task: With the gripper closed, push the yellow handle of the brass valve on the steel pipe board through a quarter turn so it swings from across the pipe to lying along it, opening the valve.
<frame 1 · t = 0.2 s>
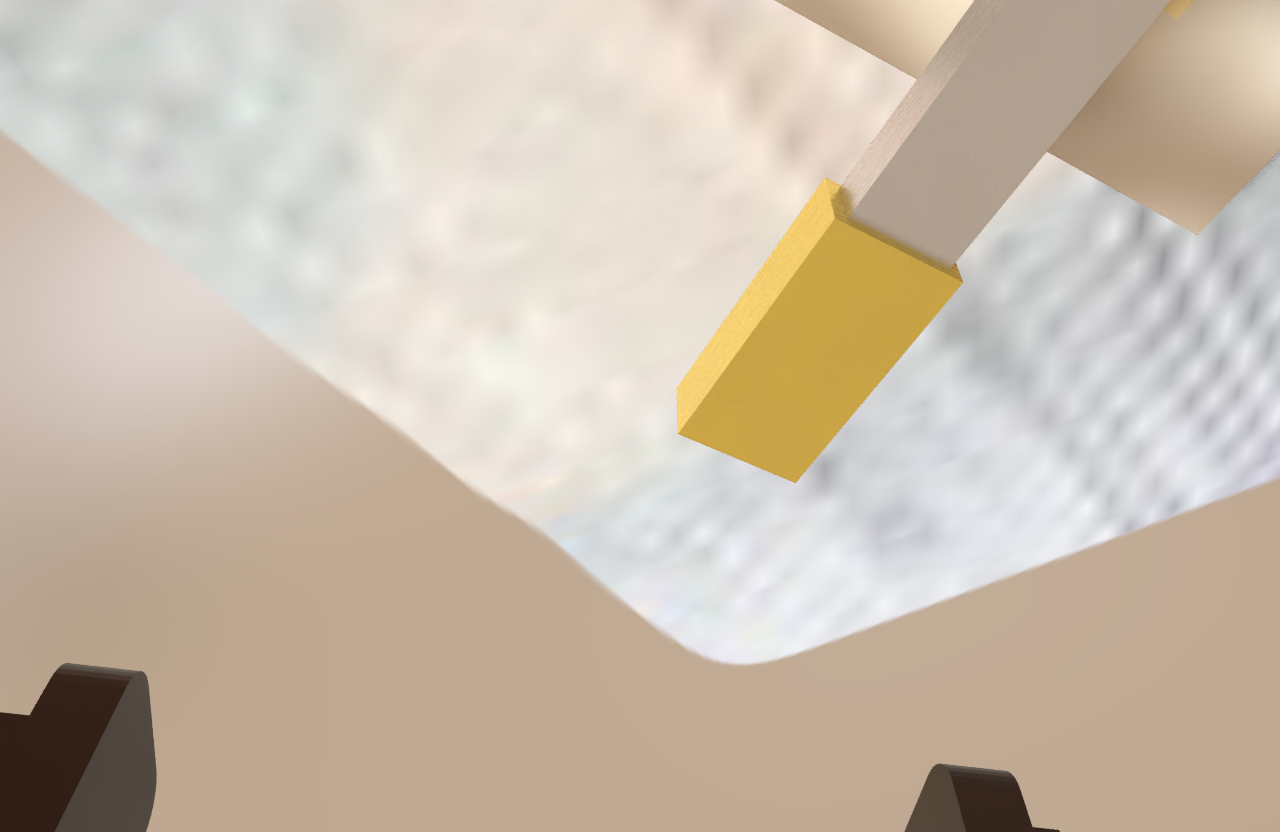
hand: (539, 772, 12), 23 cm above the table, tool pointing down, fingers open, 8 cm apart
valve lever: (940, 145, 23), point 9 cm above the table, hinge at 0.0°
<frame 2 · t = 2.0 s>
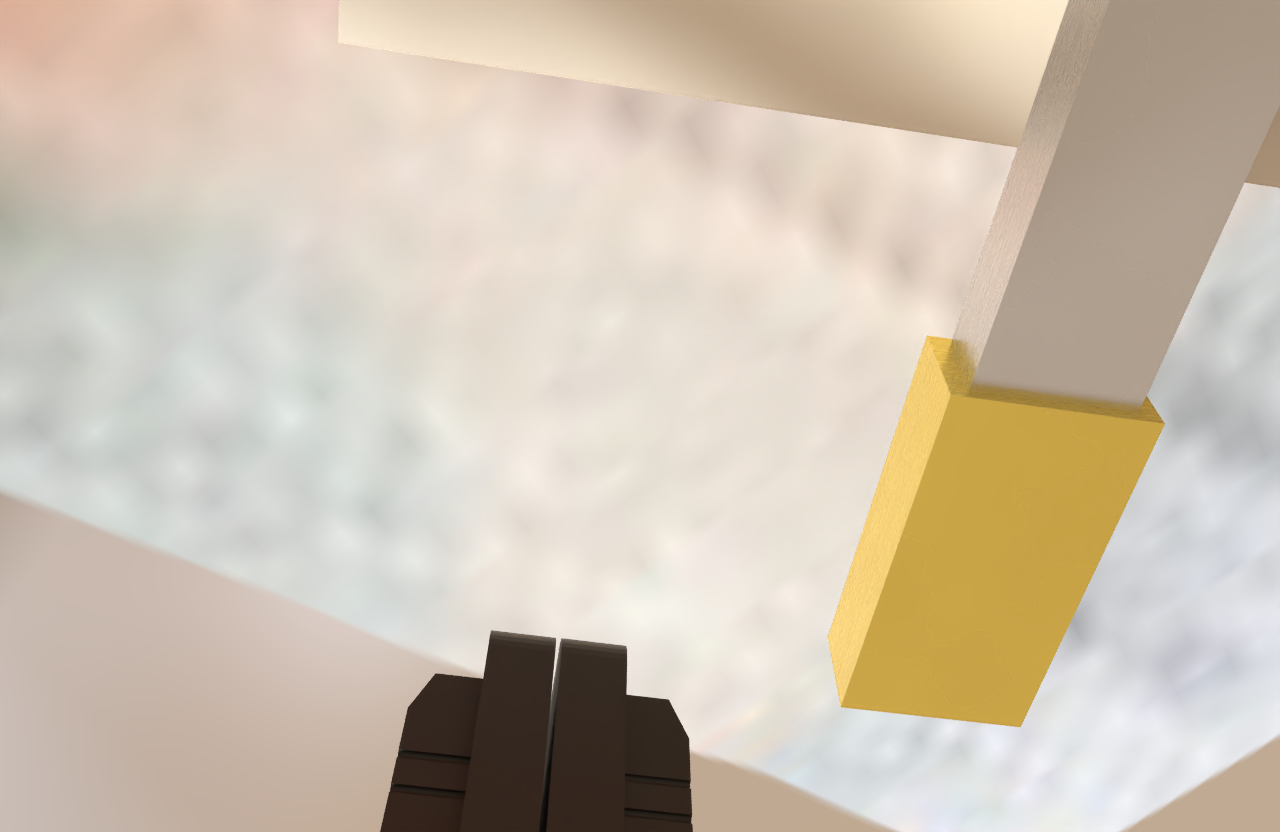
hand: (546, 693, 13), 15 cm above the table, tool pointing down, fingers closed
valve lever: (1071, 250, 16), point 9 cm above the table, hinge at 0.0°
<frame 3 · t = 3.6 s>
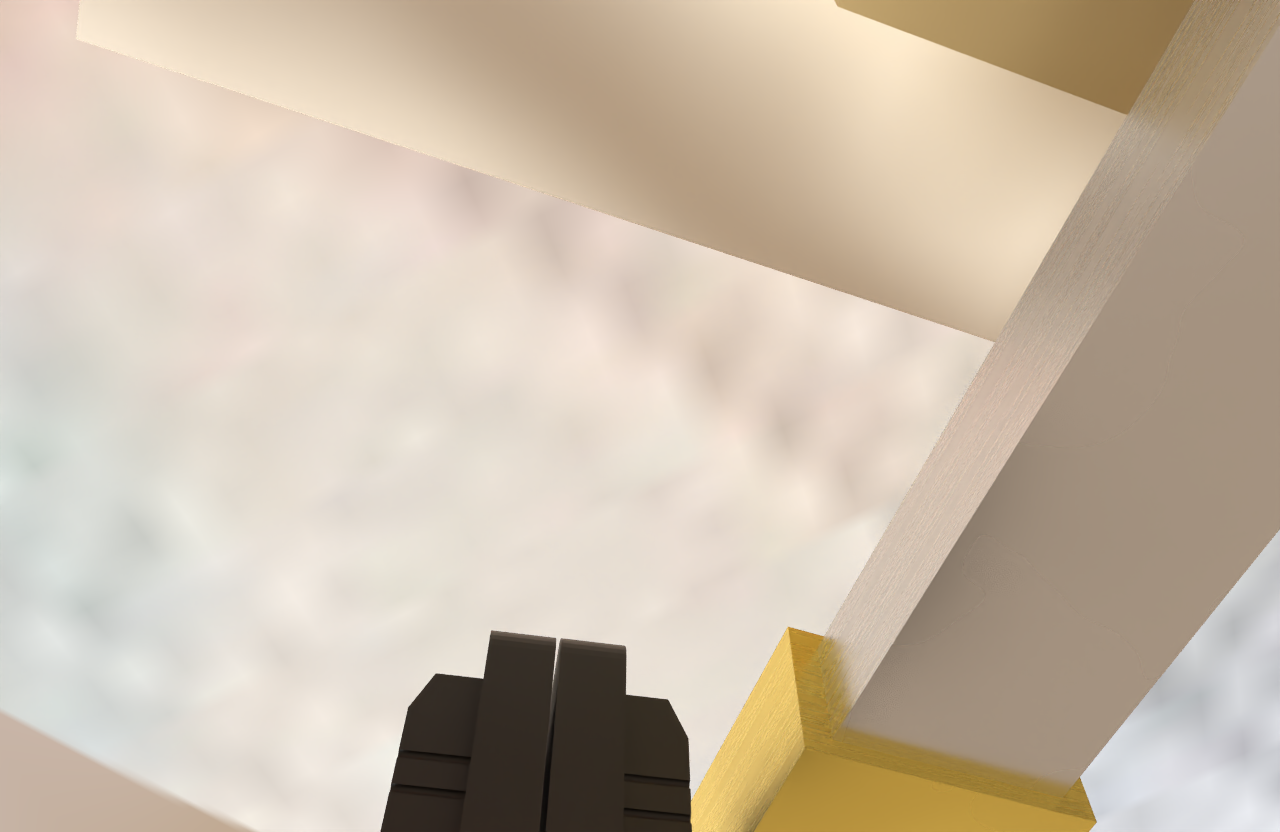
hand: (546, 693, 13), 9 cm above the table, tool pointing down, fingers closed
valve lever: (1005, 555, 11), point 9 cm above the table, hinge at 0.3°, touching gripper
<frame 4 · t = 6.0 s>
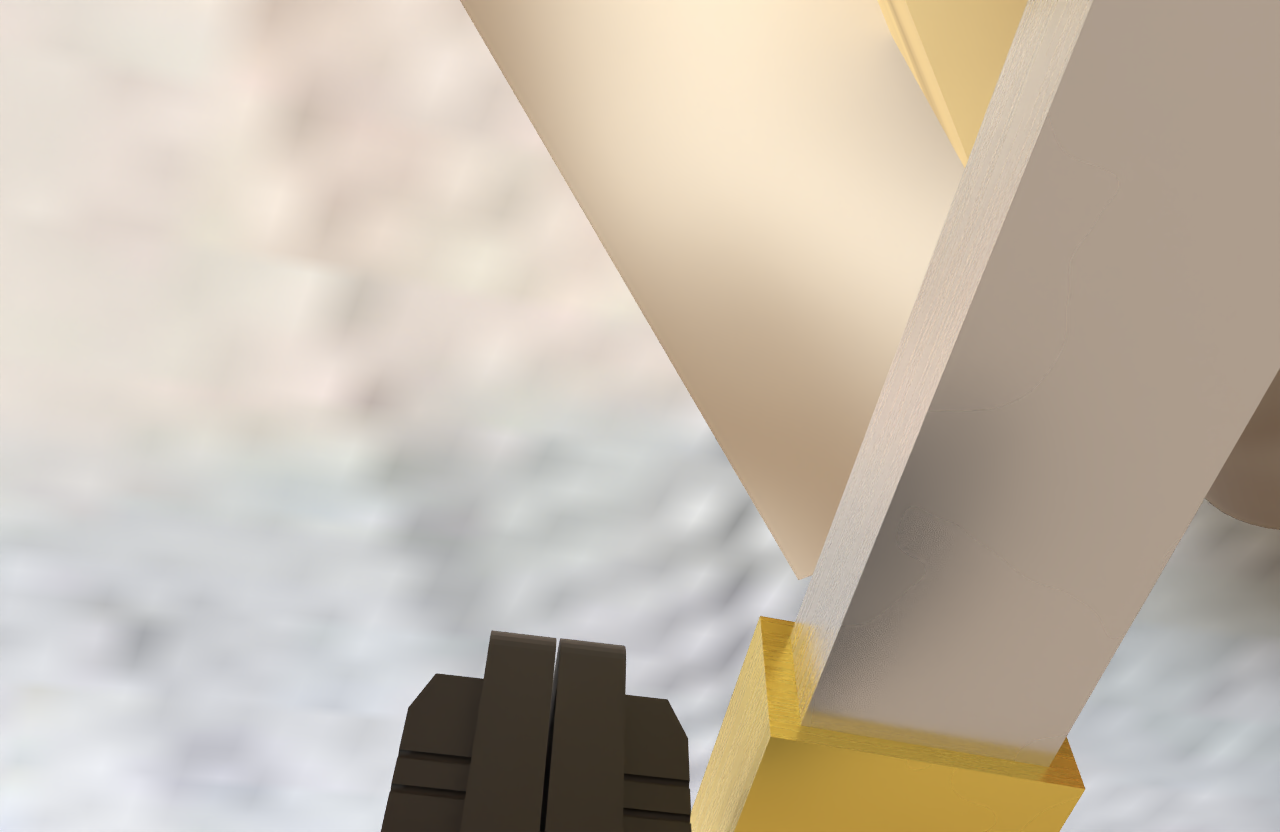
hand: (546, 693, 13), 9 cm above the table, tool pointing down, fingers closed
valve lever: (963, 524, 11), point 9 cm above the table, hinge at 50.6°, touching gripper
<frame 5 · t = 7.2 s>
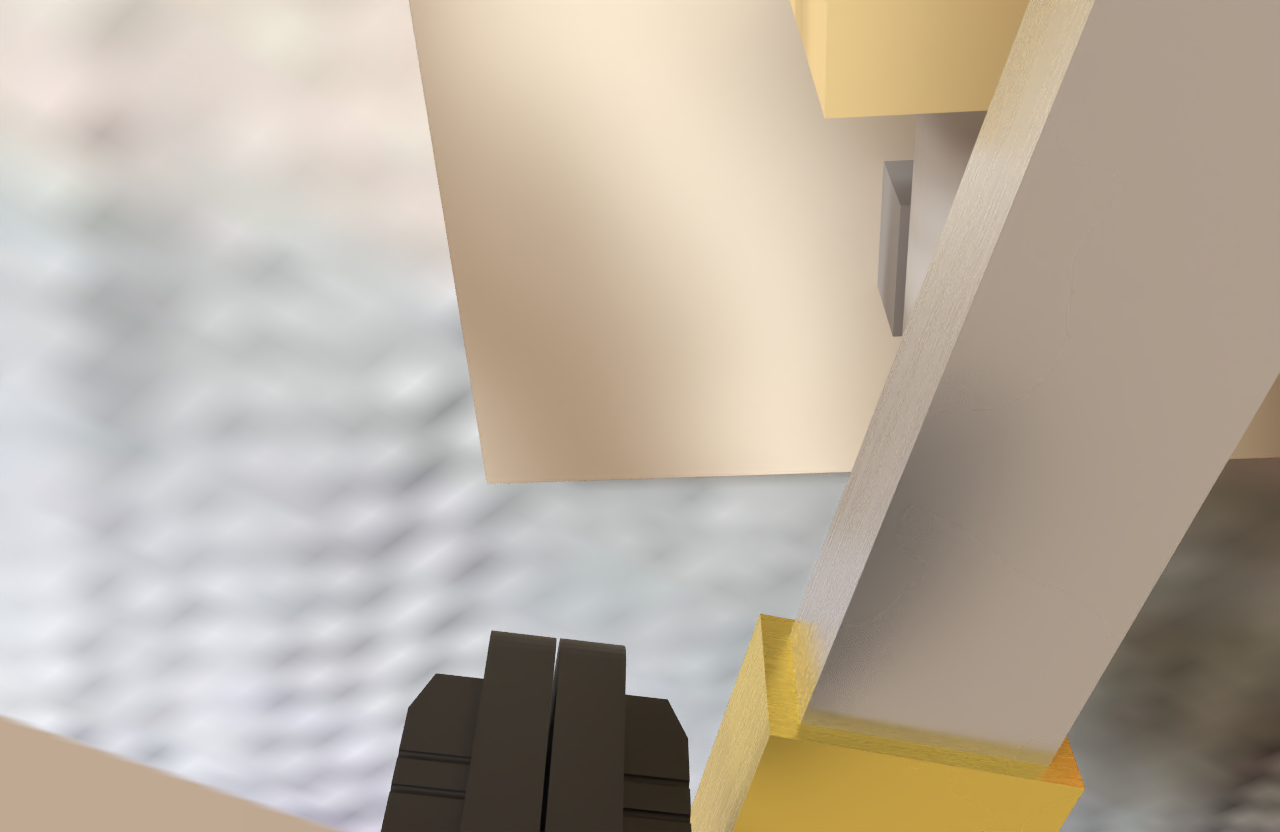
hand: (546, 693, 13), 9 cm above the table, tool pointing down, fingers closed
valve lever: (964, 523, 11), point 9 cm above the table, hinge at 74.7°, touching gripper
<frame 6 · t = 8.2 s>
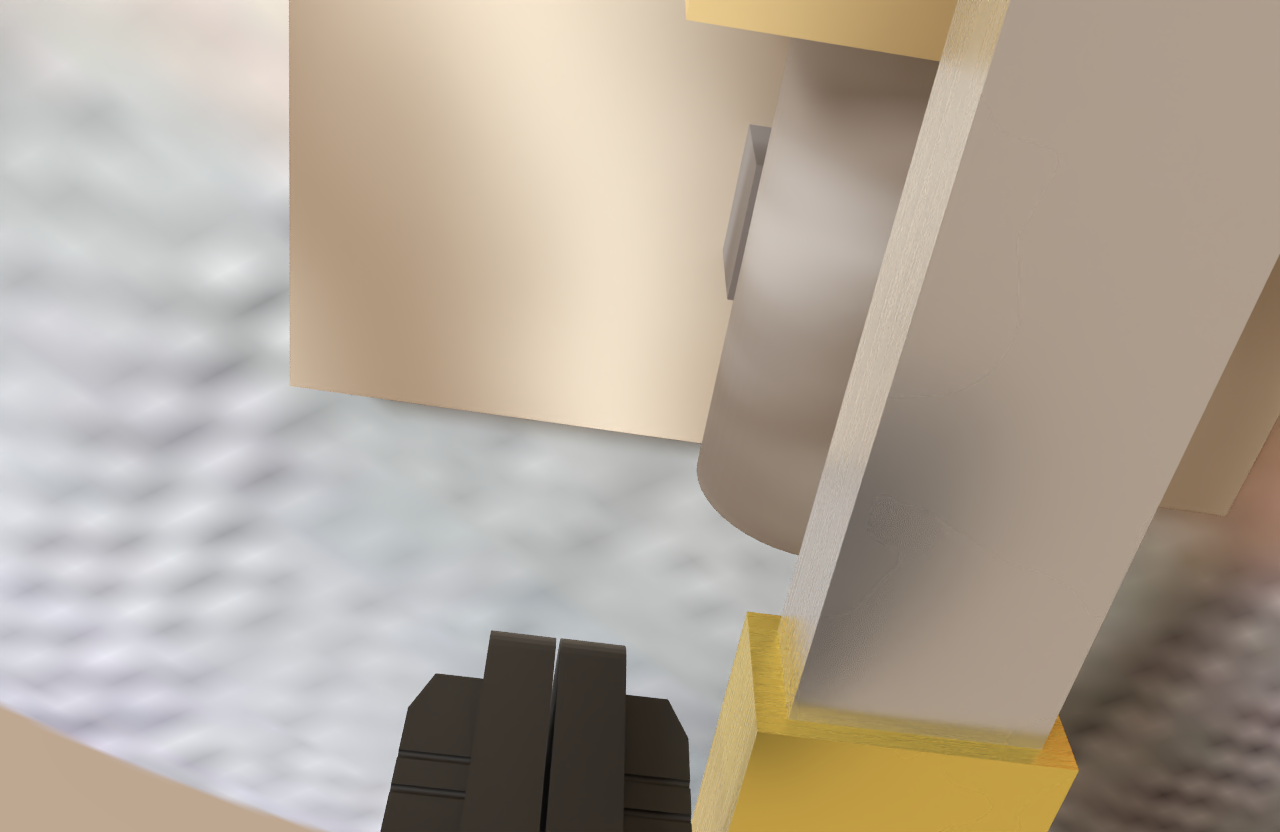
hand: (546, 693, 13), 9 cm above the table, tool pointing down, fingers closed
valve lever: (942, 510, 11), point 9 cm above the table, hinge at 90.3°, touching gripper
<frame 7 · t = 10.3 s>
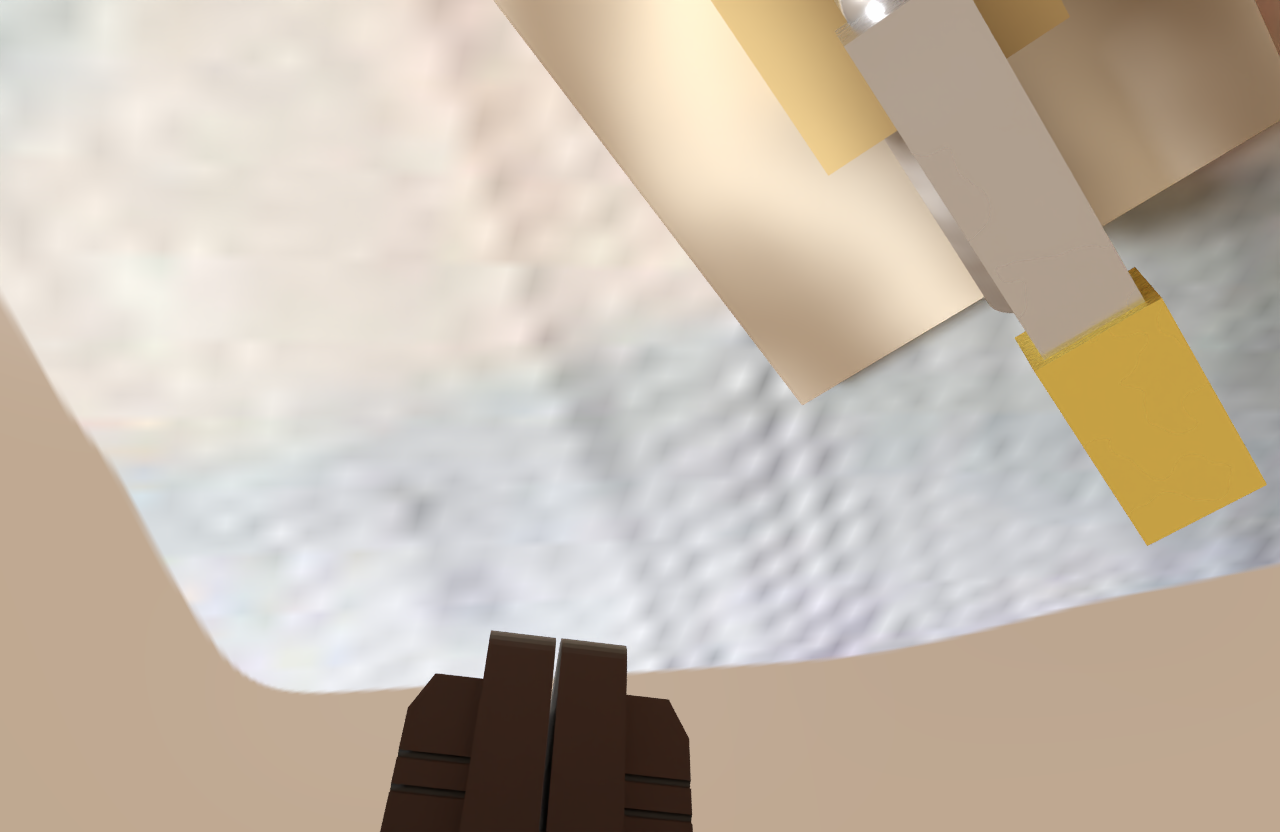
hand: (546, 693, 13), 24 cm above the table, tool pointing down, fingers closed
valve lever: (1042, 251, 27), point 9 cm above the table, hinge at 90.5°
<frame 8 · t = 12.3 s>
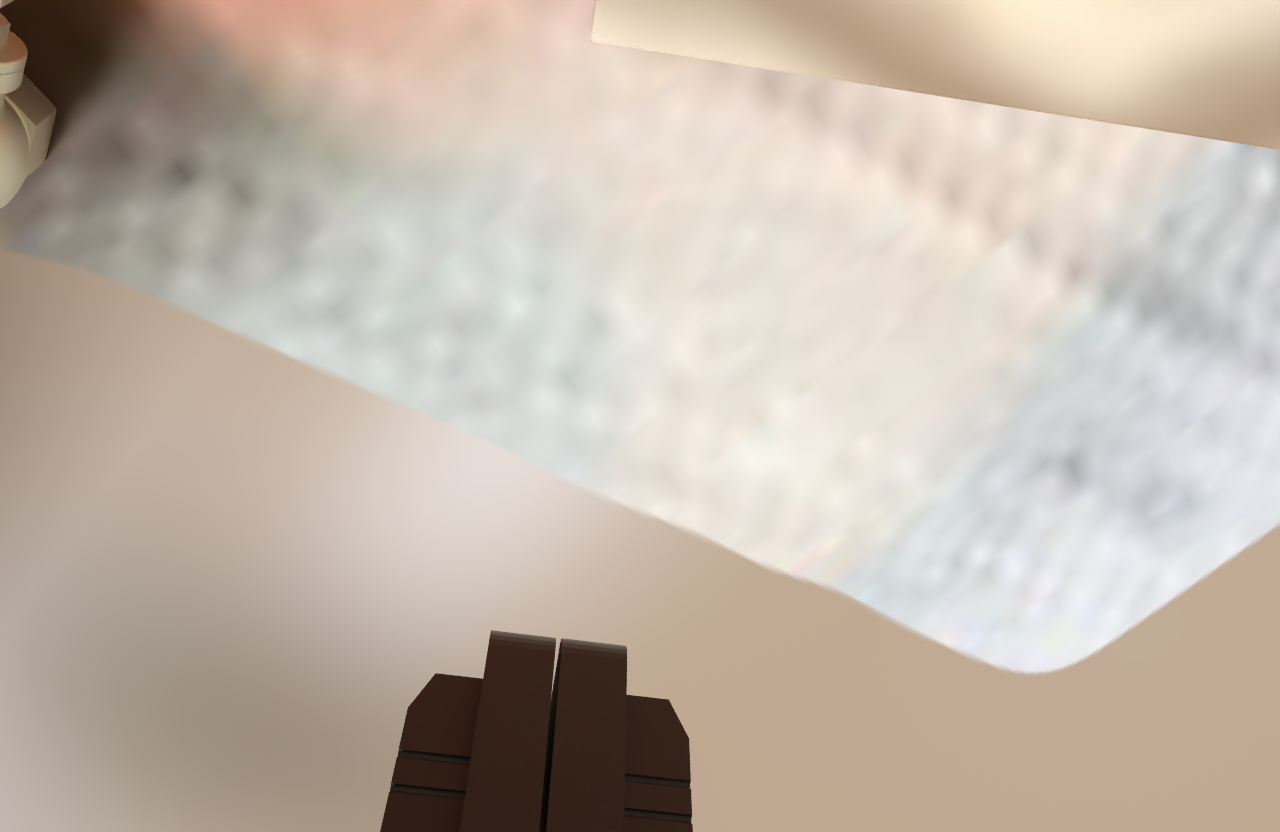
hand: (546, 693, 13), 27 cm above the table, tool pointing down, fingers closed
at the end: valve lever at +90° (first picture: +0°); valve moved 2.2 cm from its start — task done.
